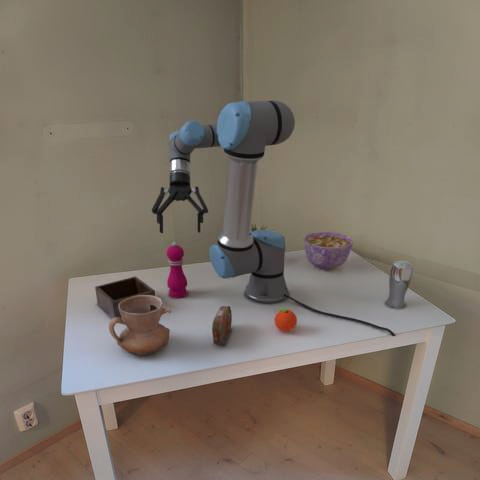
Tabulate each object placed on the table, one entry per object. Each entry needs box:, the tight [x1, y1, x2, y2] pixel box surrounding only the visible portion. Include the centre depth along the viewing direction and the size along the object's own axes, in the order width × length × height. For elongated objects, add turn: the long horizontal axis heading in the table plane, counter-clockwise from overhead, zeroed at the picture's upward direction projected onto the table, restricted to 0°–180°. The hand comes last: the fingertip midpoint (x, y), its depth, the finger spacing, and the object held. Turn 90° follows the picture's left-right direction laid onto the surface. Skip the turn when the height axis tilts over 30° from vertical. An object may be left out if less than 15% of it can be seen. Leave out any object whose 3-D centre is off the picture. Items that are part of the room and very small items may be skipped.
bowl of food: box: [303, 231, 354, 271], centre depth 186 cm, size 20×20×12 cm
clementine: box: [274, 308, 298, 333], centre depth 141 cm, size 8×7×7 cm
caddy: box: [94, 276, 158, 320], centre depth 154 cm, size 15×15×7 cm
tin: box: [211, 305, 233, 346], centre depth 137 cm, size 15×3×8 cm, turn 168°
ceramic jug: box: [108, 295, 172, 356], centre depth 130 cm, size 18×14×14 cm
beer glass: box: [385, 260, 414, 309], centre depth 154 cm, size 7×7×15 cm
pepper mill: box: [166, 241, 188, 299], centre depth 160 cm, size 7×7×20 cm
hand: (180, 232), depth 163 cm, fingers open, 13 cm apart
